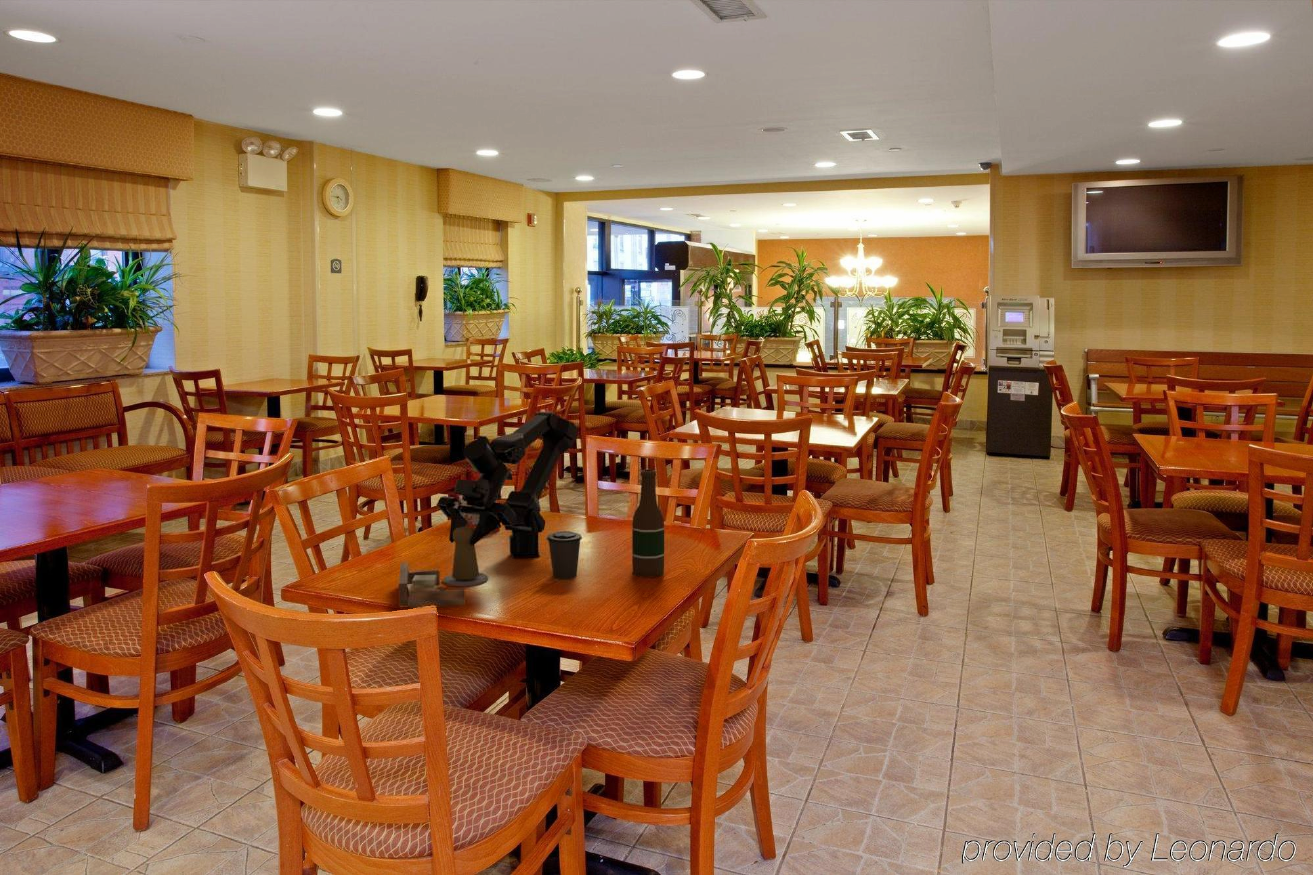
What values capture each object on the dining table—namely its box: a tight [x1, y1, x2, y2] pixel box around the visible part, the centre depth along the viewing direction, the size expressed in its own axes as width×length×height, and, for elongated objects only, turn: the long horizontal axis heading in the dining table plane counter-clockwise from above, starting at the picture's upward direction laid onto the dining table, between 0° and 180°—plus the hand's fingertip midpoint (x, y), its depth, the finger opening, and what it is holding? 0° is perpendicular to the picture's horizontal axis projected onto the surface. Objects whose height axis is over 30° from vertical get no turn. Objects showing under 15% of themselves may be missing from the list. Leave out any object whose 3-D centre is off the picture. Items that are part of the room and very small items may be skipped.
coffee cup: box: [546, 530, 583, 580], centre depth 217 cm, size 8×8×10 cm
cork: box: [451, 527, 480, 580], centre depth 214 cm, size 6×6×11 cm
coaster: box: [442, 572, 489, 588], centre depth 214 cm, size 10×10×1 cm
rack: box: [398, 561, 466, 609], centre depth 204 cm, size 13×17×5 cm
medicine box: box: [458, 495, 501, 533], centre depth 264 cm, size 15×8×8 cm, turn 24°
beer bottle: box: [631, 469, 665, 578], centre depth 219 cm, size 8×8×24 cm
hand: (460, 543), depth 212 cm, fingers open, 5 cm apart
